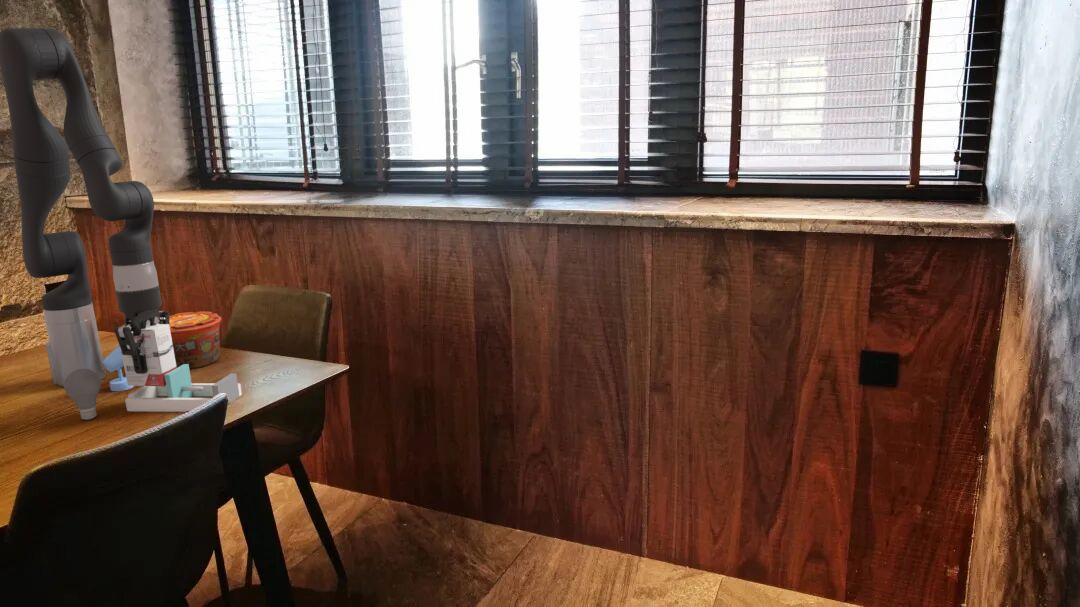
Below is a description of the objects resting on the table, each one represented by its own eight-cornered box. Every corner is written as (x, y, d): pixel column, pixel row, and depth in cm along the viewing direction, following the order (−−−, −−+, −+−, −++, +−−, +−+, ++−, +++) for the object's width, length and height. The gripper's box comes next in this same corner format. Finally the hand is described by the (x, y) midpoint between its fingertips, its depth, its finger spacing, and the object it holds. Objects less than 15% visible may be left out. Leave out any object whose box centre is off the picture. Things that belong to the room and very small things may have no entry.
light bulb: (81, 413, 143) (71, 365, 141) (113, 411, 144) (104, 363, 142) (64, 425, 138) (54, 375, 135) (97, 423, 138) (88, 373, 136)
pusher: (169, 407, 144) (164, 374, 143) (188, 395, 151) (183, 364, 149) (194, 407, 144) (189, 375, 142) (212, 395, 150) (207, 364, 148)
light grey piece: (127, 411, 144) (122, 387, 143) (155, 394, 153) (151, 371, 152) (218, 411, 142) (214, 387, 141) (241, 394, 151) (238, 371, 150)
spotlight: (137, 380, 162) (103, 389, 157) (130, 337, 160) (95, 344, 155) (146, 384, 159) (111, 394, 154) (138, 341, 157) (103, 348, 152)
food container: (200, 374, 165) (193, 328, 162) (137, 372, 168) (129, 327, 165) (240, 352, 180) (234, 310, 178) (182, 351, 183) (175, 310, 180)
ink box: (180, 378, 148) (171, 323, 145) (163, 387, 144) (154, 329, 141) (143, 377, 150) (133, 322, 147) (125, 385, 145) (115, 328, 143)
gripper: (131, 293, 135) (146, 380, 139) (176, 277, 149) (189, 357, 153) (93, 294, 136) (109, 380, 140) (142, 278, 149) (155, 357, 154)
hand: (150, 368), depth 146 cm, fingers closed on ink box, 5 cm apart
